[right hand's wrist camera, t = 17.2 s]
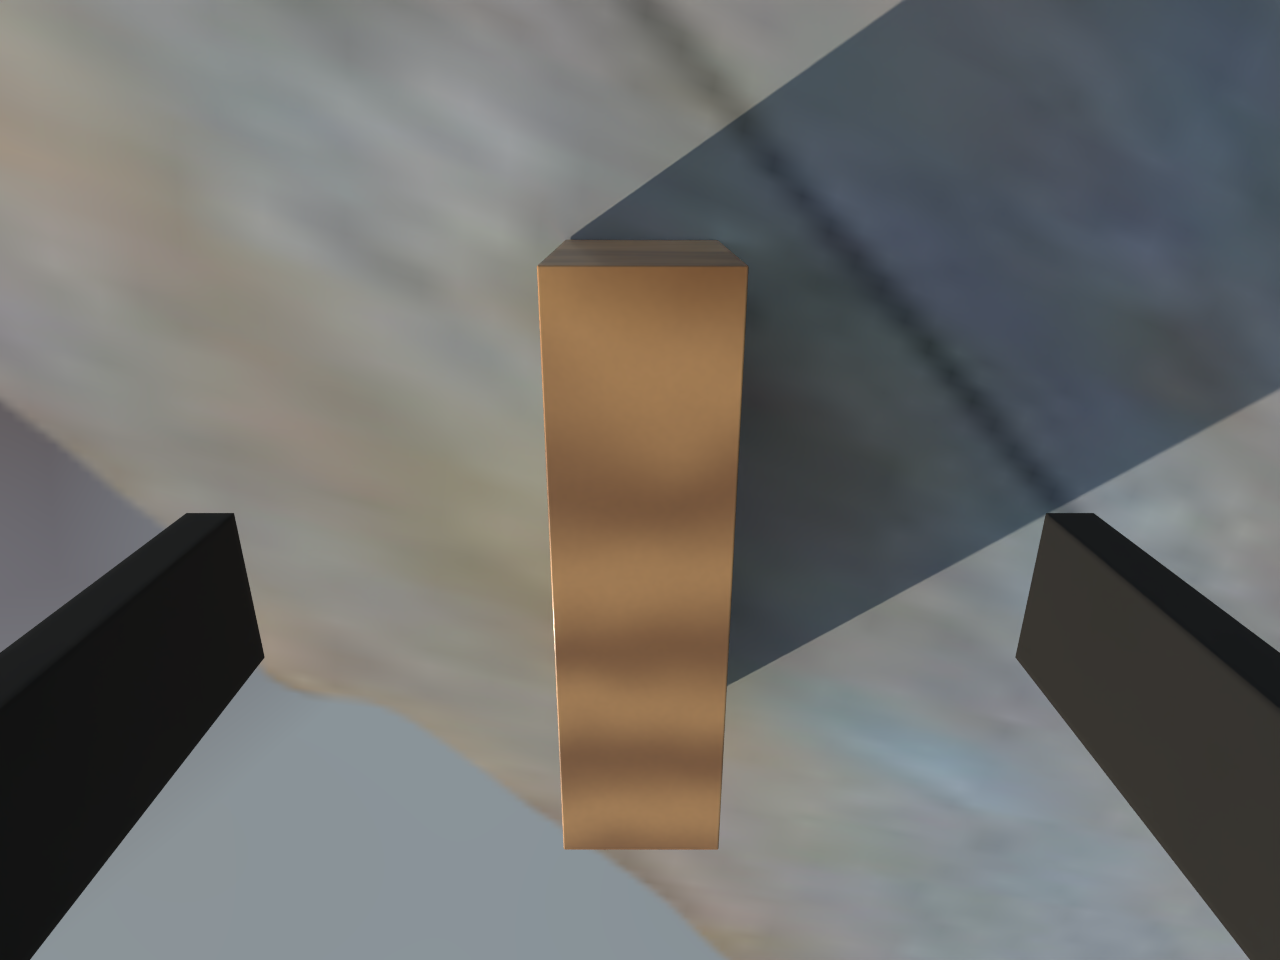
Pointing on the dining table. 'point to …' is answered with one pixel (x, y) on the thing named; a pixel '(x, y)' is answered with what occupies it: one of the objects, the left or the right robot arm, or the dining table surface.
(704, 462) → the box
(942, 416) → the dining table surface
